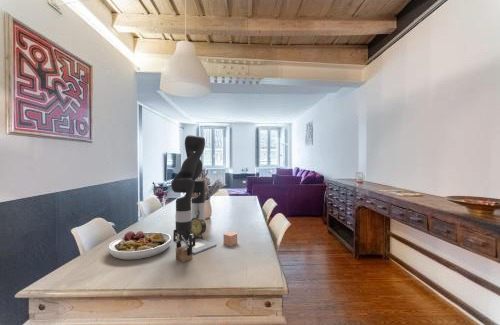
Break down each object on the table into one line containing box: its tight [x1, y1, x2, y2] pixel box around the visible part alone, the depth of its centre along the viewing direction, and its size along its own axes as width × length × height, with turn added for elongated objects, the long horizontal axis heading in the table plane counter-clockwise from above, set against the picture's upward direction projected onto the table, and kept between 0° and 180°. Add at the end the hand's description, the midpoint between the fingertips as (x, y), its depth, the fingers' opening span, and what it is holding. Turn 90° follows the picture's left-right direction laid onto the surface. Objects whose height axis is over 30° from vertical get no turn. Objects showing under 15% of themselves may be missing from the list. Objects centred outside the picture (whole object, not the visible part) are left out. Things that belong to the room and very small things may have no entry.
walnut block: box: [175, 245, 193, 263], centre depth 115 cm, size 6×6×6 cm
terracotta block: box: [223, 231, 238, 247], centre depth 136 cm, size 6×6×6 cm
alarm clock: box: [190, 211, 207, 239], centre depth 148 cm, size 11×5×16 cm, turn 62°
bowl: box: [108, 230, 172, 261], centre depth 128 cm, size 30×30×8 cm
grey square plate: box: [181, 238, 217, 255], centre depth 131 cm, size 15×15×1 cm
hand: (184, 253), depth 115 cm, fingers open, 8 cm apart
